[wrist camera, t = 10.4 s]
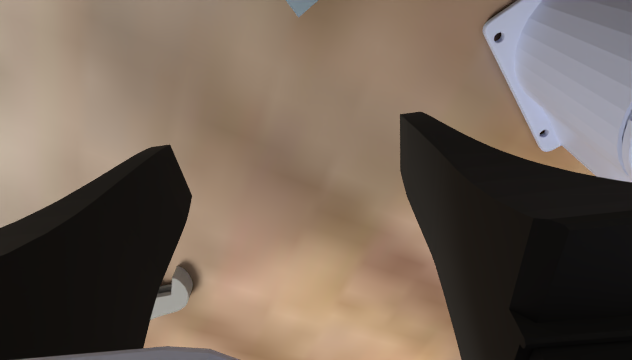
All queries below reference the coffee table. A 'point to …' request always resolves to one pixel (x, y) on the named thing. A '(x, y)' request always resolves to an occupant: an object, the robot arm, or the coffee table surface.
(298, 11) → the bin
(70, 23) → the coffee table surface
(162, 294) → the adjustable wrench
